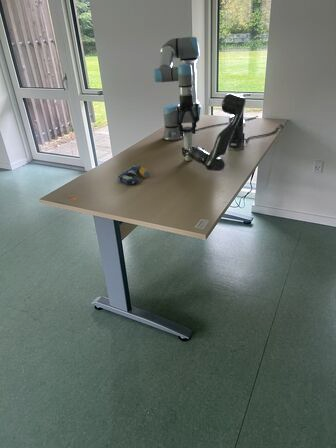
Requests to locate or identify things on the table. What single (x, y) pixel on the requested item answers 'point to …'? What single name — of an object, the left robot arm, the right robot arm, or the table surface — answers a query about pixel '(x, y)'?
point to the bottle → (188, 144)
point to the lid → (187, 129)
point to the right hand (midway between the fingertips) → (186, 148)
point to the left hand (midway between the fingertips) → (187, 134)
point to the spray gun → (133, 172)
